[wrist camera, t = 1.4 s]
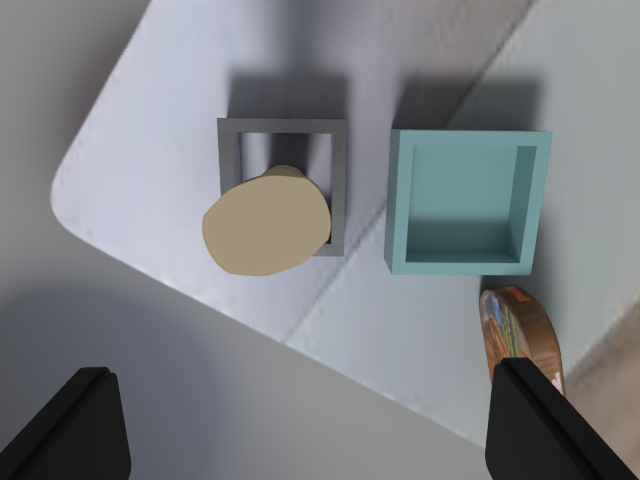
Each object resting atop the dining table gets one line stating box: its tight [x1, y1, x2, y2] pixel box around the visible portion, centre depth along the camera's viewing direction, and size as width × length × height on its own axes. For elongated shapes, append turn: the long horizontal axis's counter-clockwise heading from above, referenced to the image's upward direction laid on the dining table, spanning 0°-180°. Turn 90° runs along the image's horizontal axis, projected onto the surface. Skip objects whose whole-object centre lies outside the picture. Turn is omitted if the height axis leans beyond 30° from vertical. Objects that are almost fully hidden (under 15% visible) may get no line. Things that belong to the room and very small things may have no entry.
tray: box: [384, 129, 553, 275], centre depth 34 cm, size 11×11×4 cm
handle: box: [202, 165, 331, 276], centre depth 29 cm, size 5×6×15 cm
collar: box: [217, 118, 347, 256], centre depth 34 cm, size 10×9×4 cm
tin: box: [479, 285, 566, 398], centre depth 36 cm, size 15×3×8 cm, turn 14°
